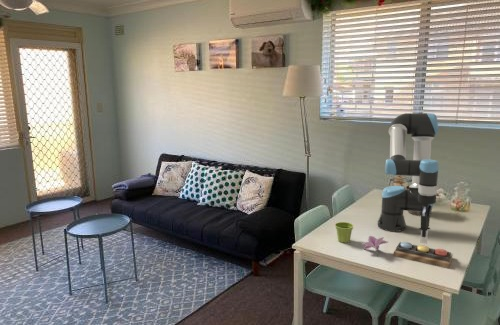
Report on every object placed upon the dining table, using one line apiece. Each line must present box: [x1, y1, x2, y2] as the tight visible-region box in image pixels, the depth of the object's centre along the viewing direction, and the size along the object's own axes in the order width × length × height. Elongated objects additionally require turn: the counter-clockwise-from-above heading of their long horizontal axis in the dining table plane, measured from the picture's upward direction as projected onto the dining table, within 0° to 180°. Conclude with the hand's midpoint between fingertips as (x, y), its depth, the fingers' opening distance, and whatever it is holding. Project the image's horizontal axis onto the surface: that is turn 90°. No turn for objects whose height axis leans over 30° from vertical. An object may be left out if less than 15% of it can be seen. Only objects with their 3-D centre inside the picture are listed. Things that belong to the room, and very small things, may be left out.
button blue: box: [400, 241, 413, 249], centre depth 178 cm, size 5×5×2 cm
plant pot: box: [334, 221, 355, 244], centre depth 195 cm, size 9×9×9 cm
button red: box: [434, 248, 448, 257], centre depth 170 cm, size 5×5×2 cm
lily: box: [361, 235, 389, 257], centre depth 180 cm, size 12×12×10 cm
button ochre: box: [417, 244, 430, 253], centre depth 174 cm, size 5×5×2 cm
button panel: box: [393, 241, 454, 269], centre depth 175 cm, size 23×12×4 cm, turn 56°
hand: (423, 242), depth 173 cm, fingers closed
